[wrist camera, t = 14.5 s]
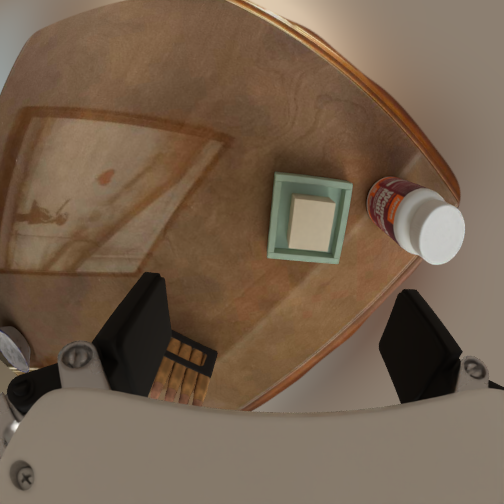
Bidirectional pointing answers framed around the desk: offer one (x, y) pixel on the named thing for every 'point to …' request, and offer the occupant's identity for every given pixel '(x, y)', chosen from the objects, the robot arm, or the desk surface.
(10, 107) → the desk surface
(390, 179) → the pill bottle
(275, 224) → the shallow square green tray
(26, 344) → the bowl
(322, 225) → the beige block
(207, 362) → the ammunition clip
